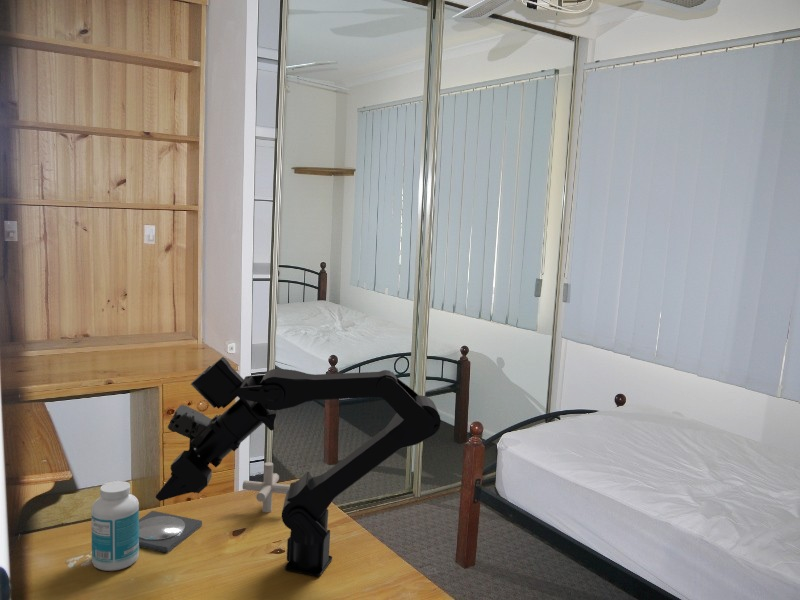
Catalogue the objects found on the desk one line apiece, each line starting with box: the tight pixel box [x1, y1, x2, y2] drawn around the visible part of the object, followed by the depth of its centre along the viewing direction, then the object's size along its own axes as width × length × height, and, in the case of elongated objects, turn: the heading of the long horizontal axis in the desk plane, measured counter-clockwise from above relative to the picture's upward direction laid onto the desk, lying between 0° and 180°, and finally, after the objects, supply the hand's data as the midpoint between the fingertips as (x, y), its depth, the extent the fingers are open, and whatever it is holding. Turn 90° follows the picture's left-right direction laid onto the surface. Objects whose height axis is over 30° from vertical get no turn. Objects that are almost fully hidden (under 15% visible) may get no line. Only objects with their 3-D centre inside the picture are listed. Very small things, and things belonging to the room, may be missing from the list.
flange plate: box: [139, 510, 203, 554], centre depth 124 cm, size 11×11×1 cm
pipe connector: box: [242, 461, 290, 514], centre depth 135 cm, size 10×10×10 cm
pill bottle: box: [90, 480, 140, 572], centre depth 113 cm, size 8×7×14 cm
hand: (165, 486), depth 113 cm, fingers open, 9 cm apart
